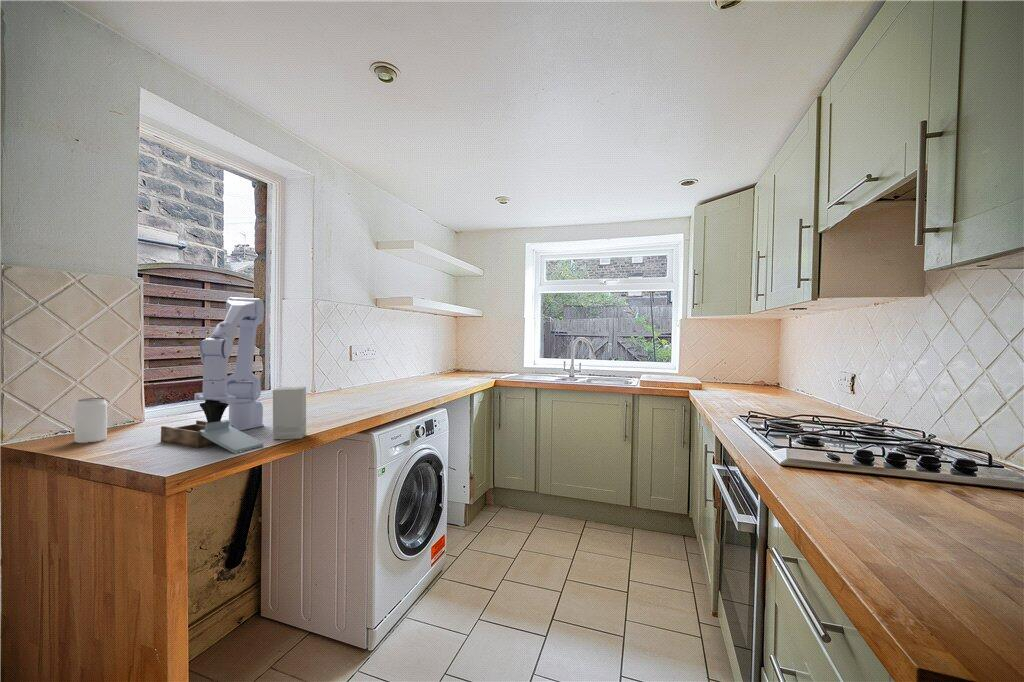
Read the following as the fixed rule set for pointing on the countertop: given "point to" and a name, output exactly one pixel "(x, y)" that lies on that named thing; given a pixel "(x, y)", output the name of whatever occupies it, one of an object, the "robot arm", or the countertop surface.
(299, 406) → the skincare box
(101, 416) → the can
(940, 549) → the countertop surface
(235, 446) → the cover plate
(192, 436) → the walnut box
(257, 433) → the countertop surface
